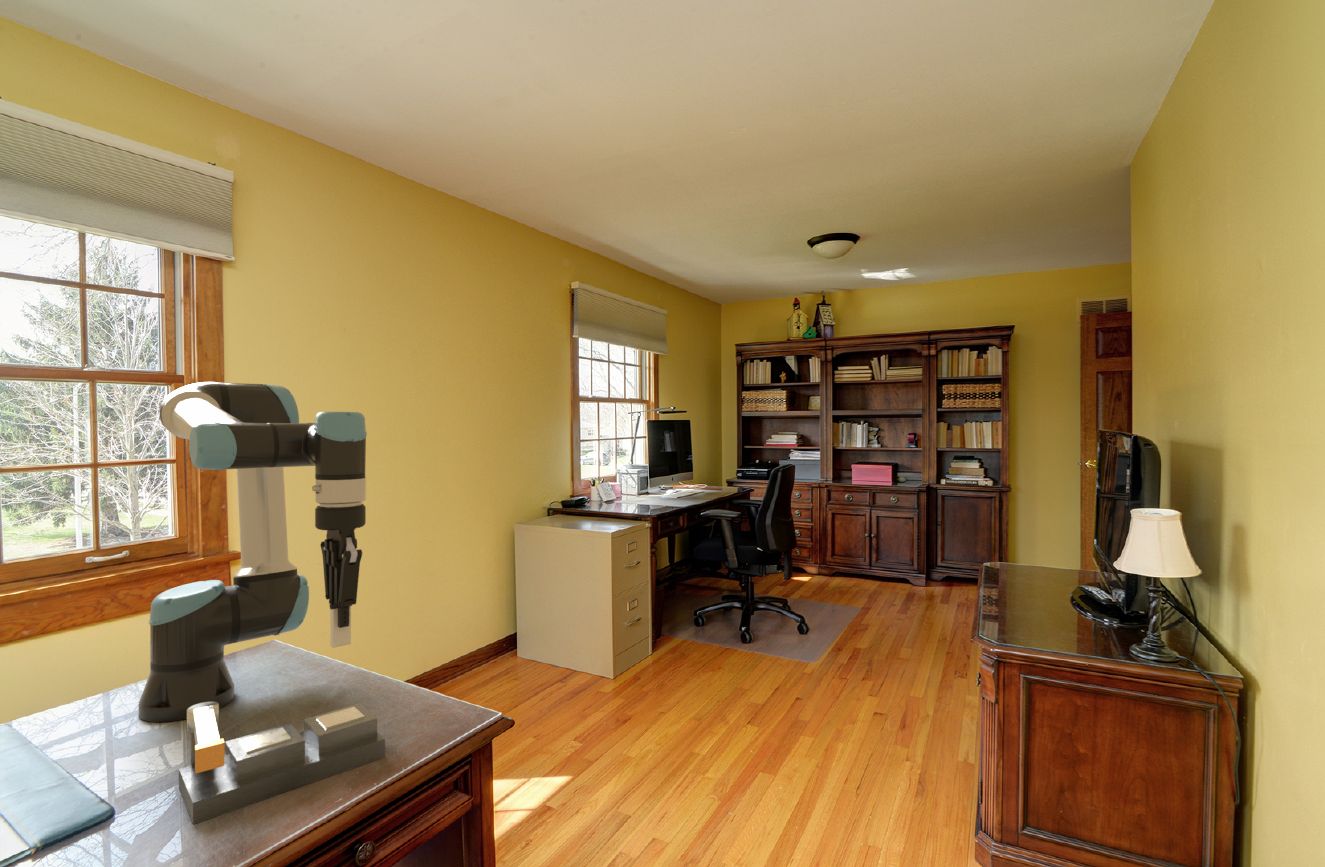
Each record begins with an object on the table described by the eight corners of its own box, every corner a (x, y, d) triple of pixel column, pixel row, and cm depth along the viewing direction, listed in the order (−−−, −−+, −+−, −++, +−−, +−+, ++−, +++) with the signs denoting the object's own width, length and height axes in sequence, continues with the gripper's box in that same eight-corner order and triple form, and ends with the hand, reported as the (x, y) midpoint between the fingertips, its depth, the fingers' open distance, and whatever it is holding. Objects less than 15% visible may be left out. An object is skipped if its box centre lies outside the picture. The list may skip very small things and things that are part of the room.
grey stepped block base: (177, 784, 98) (177, 732, 98) (355, 728, 116) (355, 685, 116) (193, 824, 88) (192, 766, 88) (384, 756, 106) (385, 708, 106)
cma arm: (186, 725, 99) (186, 705, 99) (217, 718, 101) (217, 698, 101) (191, 774, 85) (191, 750, 85) (228, 764, 88) (227, 741, 88)
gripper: (304, 502, 109) (304, 640, 109) (329, 509, 99) (329, 660, 100) (350, 498, 114) (350, 630, 114) (378, 505, 105) (378, 649, 105)
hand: (340, 644), depth 107 cm, fingers closed
